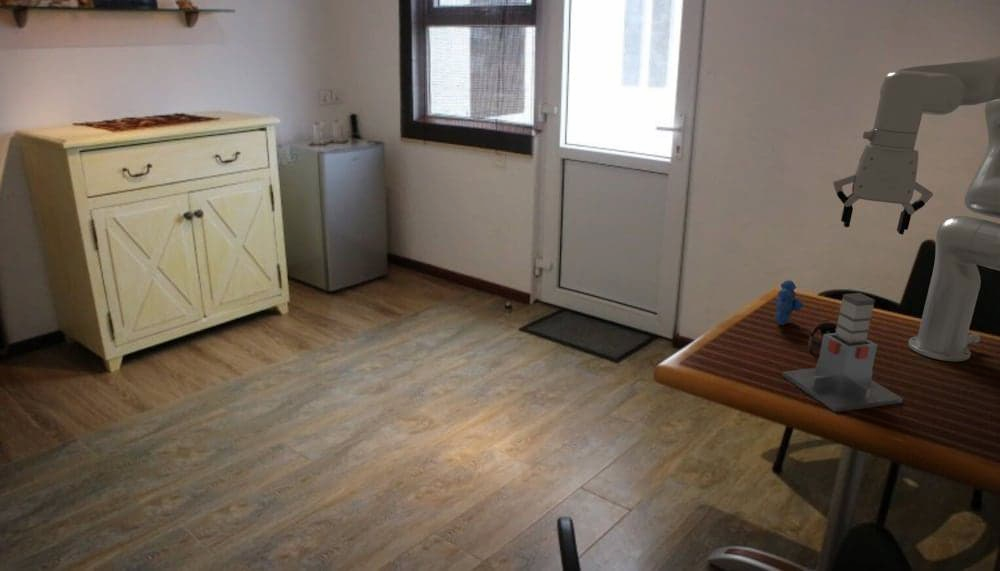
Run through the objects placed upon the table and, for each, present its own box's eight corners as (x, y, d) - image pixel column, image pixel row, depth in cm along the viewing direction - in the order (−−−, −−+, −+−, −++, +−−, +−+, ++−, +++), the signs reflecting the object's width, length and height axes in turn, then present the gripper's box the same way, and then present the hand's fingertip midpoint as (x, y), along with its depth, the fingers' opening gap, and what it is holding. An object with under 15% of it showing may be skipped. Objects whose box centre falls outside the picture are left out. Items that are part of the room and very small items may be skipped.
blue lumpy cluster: (795, 336, 179) (804, 289, 175) (766, 330, 182) (774, 283, 178) (803, 321, 188) (811, 276, 184) (775, 315, 191) (783, 271, 187)
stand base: (844, 368, 162) (854, 321, 159) (901, 402, 148) (913, 352, 144) (782, 376, 158) (790, 327, 154) (834, 412, 143) (845, 359, 140)
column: (842, 378, 155) (859, 292, 149) (857, 387, 151) (876, 300, 145) (825, 380, 154) (842, 294, 148) (839, 389, 150) (857, 301, 144)
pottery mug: (862, 364, 166) (854, 337, 162) (819, 376, 169) (810, 350, 165) (845, 331, 176) (838, 305, 172) (805, 343, 179) (796, 318, 175)
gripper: (845, 137, 139) (826, 227, 145) (949, 147, 134) (925, 240, 140) (841, 134, 146) (823, 219, 151) (939, 143, 141) (918, 231, 147)
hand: (872, 229), depth 146 cm, fingers open, 9 cm apart
